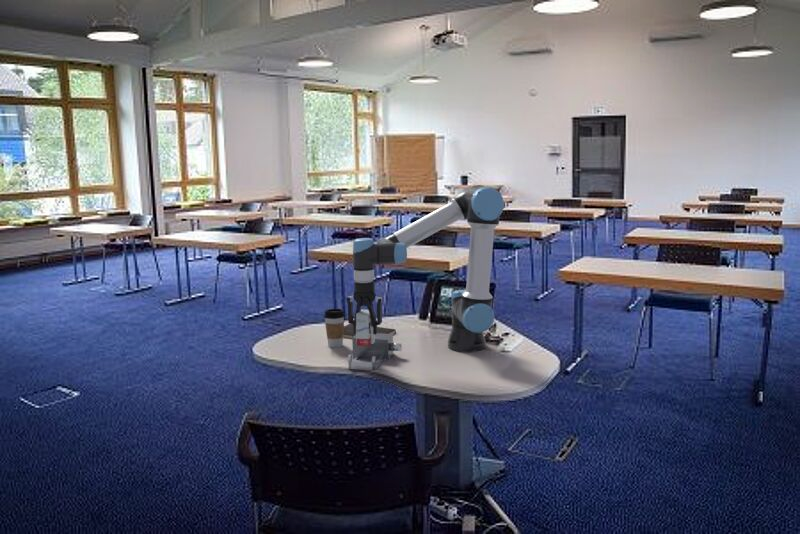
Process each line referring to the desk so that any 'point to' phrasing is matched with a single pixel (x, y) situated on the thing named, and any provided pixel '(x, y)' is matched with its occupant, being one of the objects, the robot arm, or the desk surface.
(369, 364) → the clip bracket
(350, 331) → the hardcover book
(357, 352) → the motor block
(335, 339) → the coffee cup
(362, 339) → the ink box
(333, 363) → the desk surface
